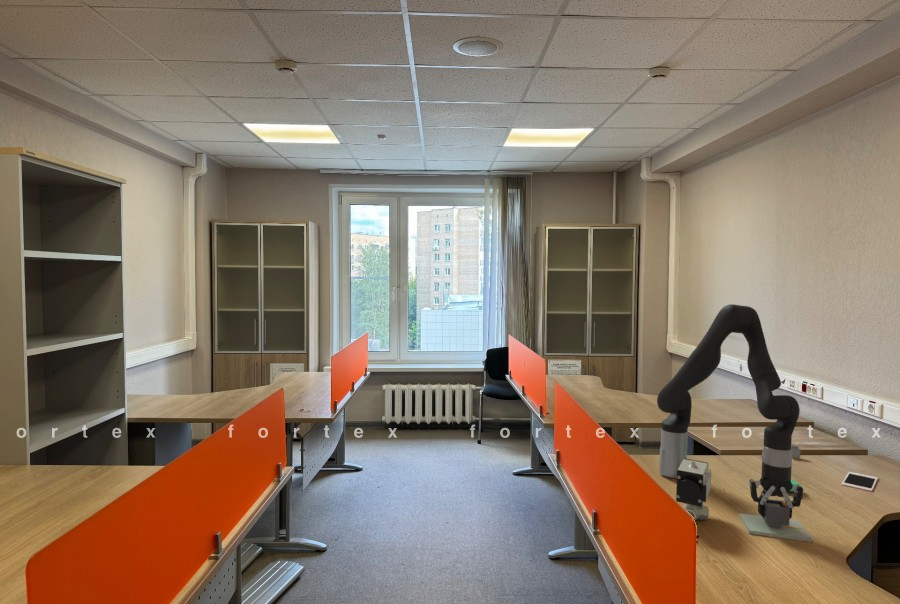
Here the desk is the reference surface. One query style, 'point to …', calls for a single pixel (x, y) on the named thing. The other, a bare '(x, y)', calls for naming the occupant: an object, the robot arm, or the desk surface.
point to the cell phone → (860, 481)
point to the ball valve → (694, 487)
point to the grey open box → (776, 512)
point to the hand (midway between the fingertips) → (774, 517)
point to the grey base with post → (775, 527)
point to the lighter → (795, 452)
